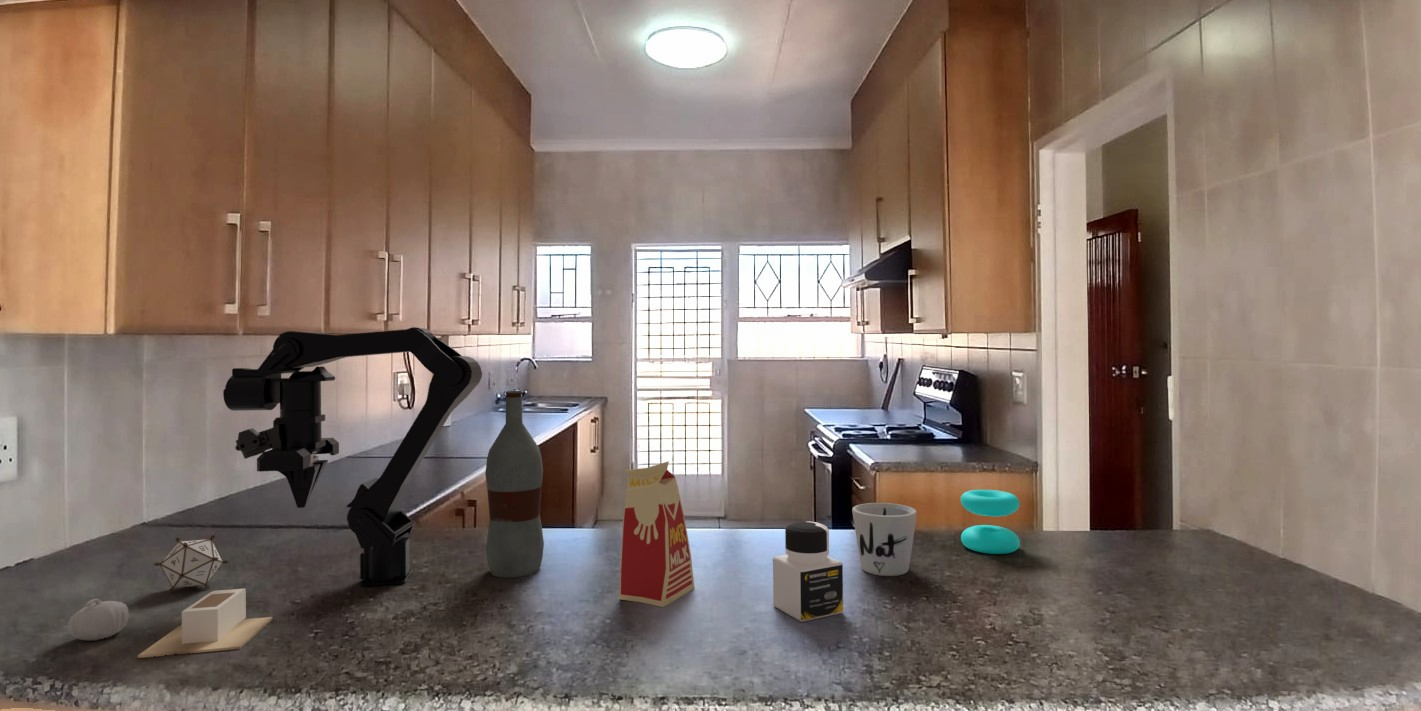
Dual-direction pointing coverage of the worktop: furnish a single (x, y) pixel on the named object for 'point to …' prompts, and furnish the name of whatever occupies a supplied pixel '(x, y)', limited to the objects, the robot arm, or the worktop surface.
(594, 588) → the worktop surface
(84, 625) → the garlic
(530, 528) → the vodka
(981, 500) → the donuts
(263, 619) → the cork trivet
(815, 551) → the medicine bottle
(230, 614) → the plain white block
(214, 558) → the game die
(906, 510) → the mug
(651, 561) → the milk carton
